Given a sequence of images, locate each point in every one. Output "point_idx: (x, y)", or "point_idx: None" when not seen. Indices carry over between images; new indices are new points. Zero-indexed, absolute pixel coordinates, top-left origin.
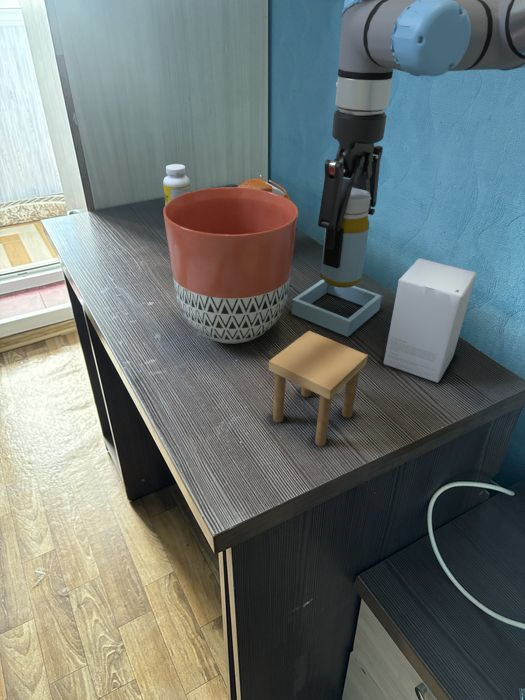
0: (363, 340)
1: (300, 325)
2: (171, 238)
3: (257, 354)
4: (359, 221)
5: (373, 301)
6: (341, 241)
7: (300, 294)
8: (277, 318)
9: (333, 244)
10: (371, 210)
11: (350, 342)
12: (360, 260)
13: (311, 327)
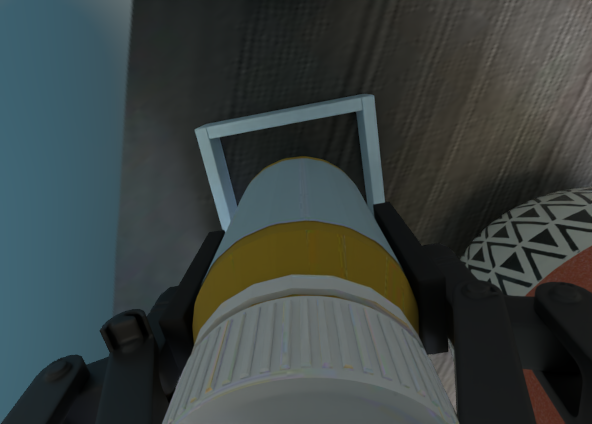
0: (348, 57)
1: (403, 197)
2: None
3: (554, 177)
4: (339, 267)
5: (240, 122)
6: (409, 248)
7: None
8: (558, 193)
9: (449, 254)
10: (122, 335)
11: (378, 73)
12: (300, 176)
13: (392, 176)
